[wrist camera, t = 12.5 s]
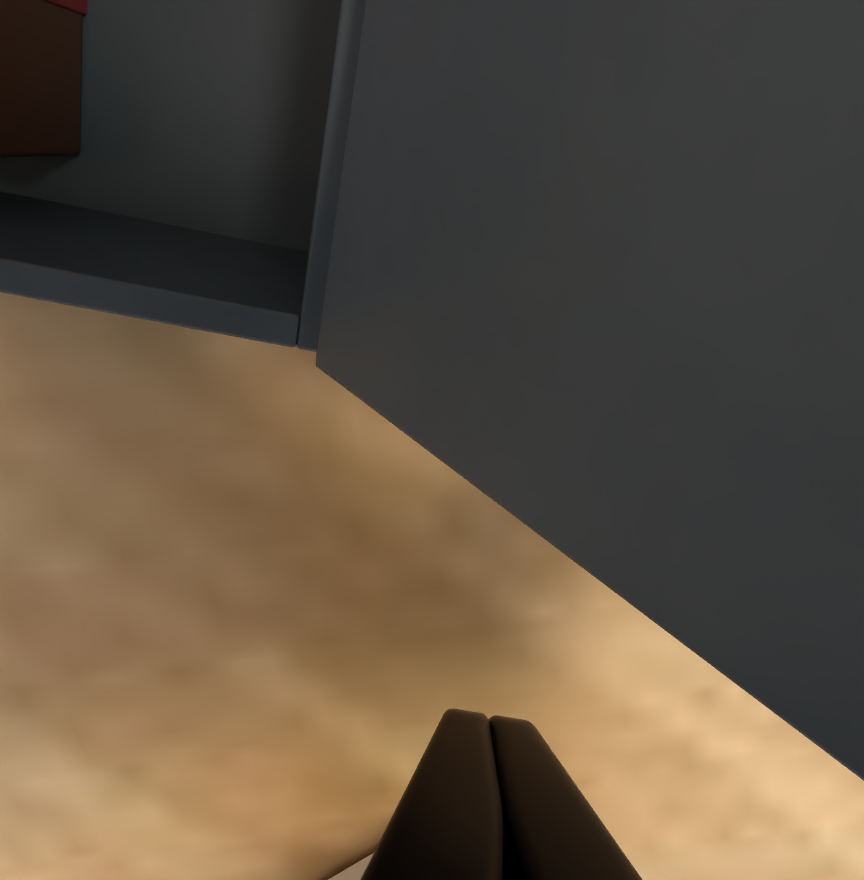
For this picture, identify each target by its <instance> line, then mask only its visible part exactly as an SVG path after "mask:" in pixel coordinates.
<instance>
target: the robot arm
mask: <svg viewBox="0 0 864 880" xmlns="http://www.w3.org/2000/svg"><path fill="white" fill-rule="evenodd" d="M360 880H642V878H641V877H640V876H639V874H638V873H637V871H636V870H635V868H634V867H633V866H632V864H631V863H630V861H629V860H628V859H627V857H626V856H625V854H624V853H623V851H622V850H621V849H620V847H619V846H618V844H617V843H616V841H615V840H614V839H613V837H612V836H611V834H610V833H609V831H608V830H607V829H606V827H605V826H604V824H603V823H602V821H601V820H600V819H599V817H598V816H597V814H596V813H595V811H594V810H593V809H592V807H591V806H590V804H589V803H588V801H587V800H586V799H585V797H584V796H583V794H582V793H581V791H580V790H579V789H578V787H577V786H576V784H575V783H574V782H573V780H572V779H571V777H570V776H569V774H568V773H567V772H566V770H565V769H564V767H563V766H562V764H561V763H560V762H559V760H558V759H557V757H556V756H555V754H554V753H553V752H552V750H551V749H550V747H549V746H548V744H547V743H546V742H545V740H544V739H543V737H542V736H541V734H540V733H539V732H538V730H537V729H536V727H535V726H534V725H533V724H532V723H530V722H529V721H526V720H522V719H516V718H509V717H503V716H492V717H491V718H489V720H488V718H487V717H486V716H485V715H484V714H482V713H478V712H472V711H465V710H459V709H448V710H447V711H446V712H445V713H444V715H443V717H442V719H441V721H440V722H439V724H438V726H437V728H436V730H435V732H434V734H433V736H432V738H431V740H430V742H429V744H428V746H427V748H426V750H425V752H424V754H423V756H422V758H421V760H420V762H419V764H418V766H417V768H416V770H415V772H414V774H413V776H412V778H411V780H410V782H409V784H408V786H407V788H406V790H405V792H404V794H403V796H402V798H401V800H400V802H399V804H398V806H397V808H396V810H395V812H394V814H393V816H392V818H391V820H390V822H389V824H388V826H387V828H386V830H385V832H384V834H383V836H382V838H381V840H380V842H379V844H378V846H377V848H376V850H375V852H374V854H373V856H372V858H371V860H370V862H369V864H368V866H367V868H366V869H365V871H364V873H363V875H362V877H361V879H360Z"/></svg>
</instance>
